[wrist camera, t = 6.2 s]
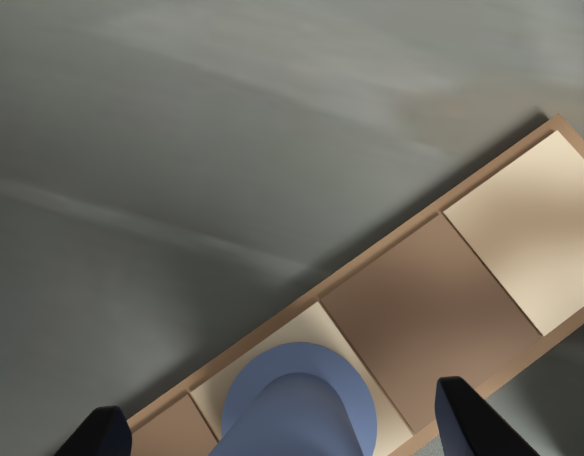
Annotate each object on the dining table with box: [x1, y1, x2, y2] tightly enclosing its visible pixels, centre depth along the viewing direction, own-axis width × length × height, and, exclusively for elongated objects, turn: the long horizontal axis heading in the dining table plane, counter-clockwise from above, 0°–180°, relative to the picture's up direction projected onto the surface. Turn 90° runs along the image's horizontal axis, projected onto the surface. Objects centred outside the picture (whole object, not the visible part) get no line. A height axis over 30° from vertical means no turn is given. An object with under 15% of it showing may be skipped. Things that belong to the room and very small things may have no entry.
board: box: [127, 113, 584, 456], centre depth 16 cm, size 6×23×1 cm, turn 125°
